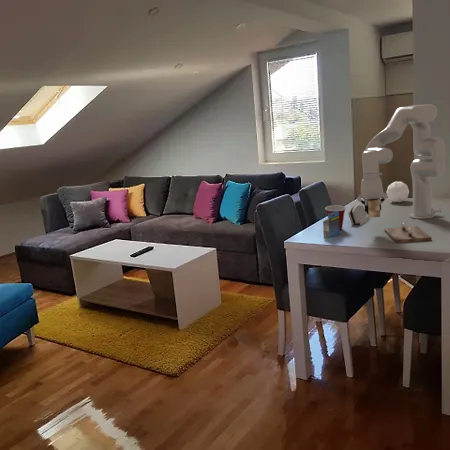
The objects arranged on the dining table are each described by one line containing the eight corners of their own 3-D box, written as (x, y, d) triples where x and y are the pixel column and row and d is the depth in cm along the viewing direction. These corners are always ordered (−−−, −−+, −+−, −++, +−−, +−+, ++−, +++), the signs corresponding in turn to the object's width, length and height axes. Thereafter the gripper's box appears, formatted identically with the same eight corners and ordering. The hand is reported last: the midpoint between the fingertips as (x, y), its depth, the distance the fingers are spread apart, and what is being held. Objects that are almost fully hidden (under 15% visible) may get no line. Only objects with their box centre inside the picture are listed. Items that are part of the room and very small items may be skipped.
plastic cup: (332, 232, 254) (331, 210, 252) (322, 228, 265) (321, 207, 262) (351, 229, 257) (350, 207, 255) (340, 225, 267) (339, 204, 265)
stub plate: (417, 229, 245) (417, 219, 244) (431, 240, 224) (431, 229, 223) (384, 231, 247) (384, 221, 246) (395, 243, 226) (395, 232, 224)
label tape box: (333, 233, 254) (332, 209, 251) (340, 234, 251) (339, 210, 248) (323, 237, 248) (321, 213, 246) (330, 238, 245) (328, 214, 243)
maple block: (376, 213, 248) (375, 197, 246) (380, 216, 240) (379, 200, 238) (366, 214, 248) (365, 198, 246) (369, 217, 240) (368, 201, 239)
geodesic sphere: (409, 195, 300) (408, 175, 305) (385, 196, 305) (385, 177, 310) (409, 205, 312) (409, 186, 317) (386, 206, 317) (387, 187, 322)
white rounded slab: (360, 225, 264) (354, 208, 264) (352, 227, 267) (346, 210, 267) (370, 218, 277) (364, 201, 277) (362, 220, 280) (356, 204, 280)
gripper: (387, 173, 242) (389, 209, 246) (352, 176, 244) (354, 212, 248) (391, 175, 235) (392, 212, 239) (354, 179, 237) (356, 215, 241)
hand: (373, 212), depth 244 cm, fingers closed on maple block, 5 cm apart
